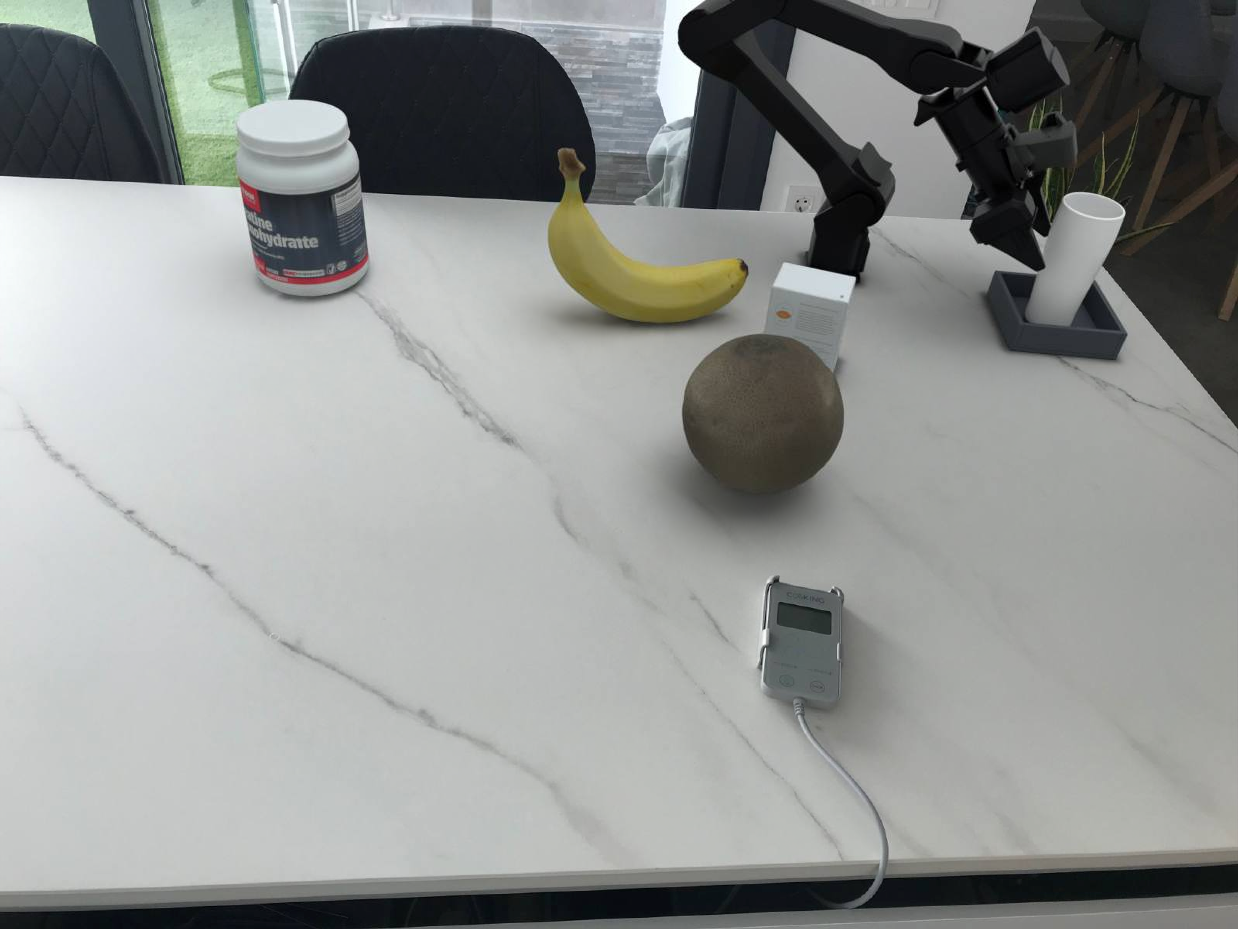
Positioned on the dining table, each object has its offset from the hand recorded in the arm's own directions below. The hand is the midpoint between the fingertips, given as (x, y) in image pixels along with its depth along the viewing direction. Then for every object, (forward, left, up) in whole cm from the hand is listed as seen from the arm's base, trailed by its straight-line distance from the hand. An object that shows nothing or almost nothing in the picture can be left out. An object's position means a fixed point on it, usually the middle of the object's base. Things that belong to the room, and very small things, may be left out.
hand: (1045, 251), depth 111 cm
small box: (-28, -14, -9) cm, 33 cm away
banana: (-45, -7, -9) cm, 46 cm away
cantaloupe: (-34, -34, -9) cm, 49 cm away
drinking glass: (+3, -1, -9) cm, 9 cm away
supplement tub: (-84, -4, -9) cm, 84 cm away
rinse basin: (+3, -1, -9) cm, 9 cm away
